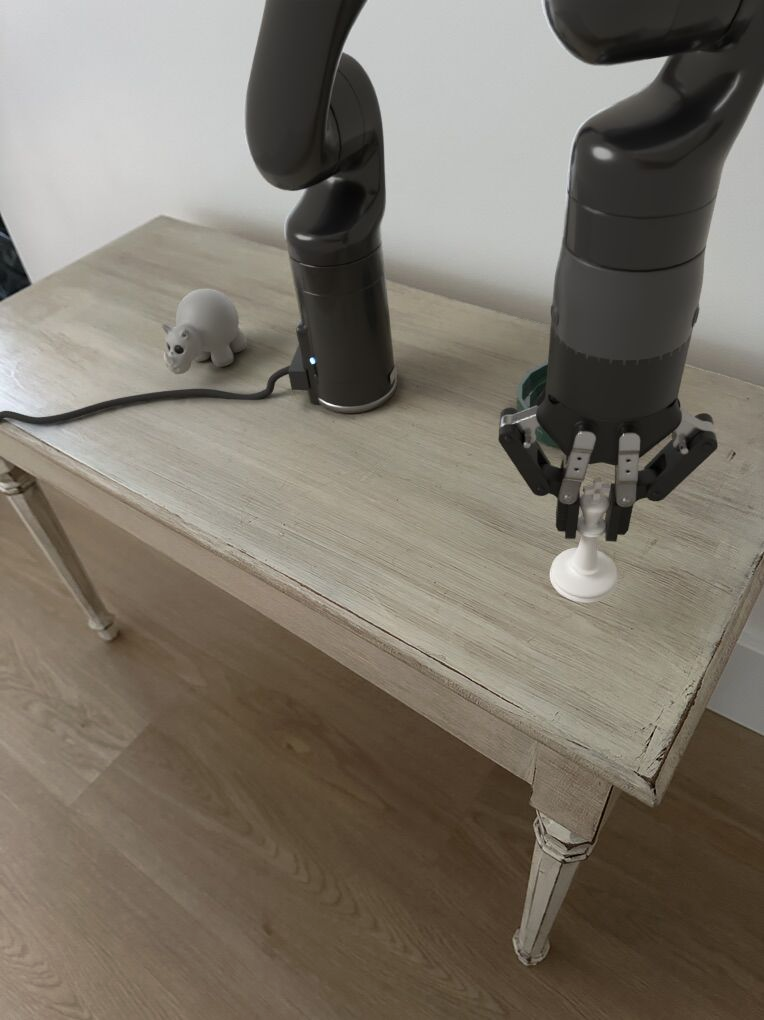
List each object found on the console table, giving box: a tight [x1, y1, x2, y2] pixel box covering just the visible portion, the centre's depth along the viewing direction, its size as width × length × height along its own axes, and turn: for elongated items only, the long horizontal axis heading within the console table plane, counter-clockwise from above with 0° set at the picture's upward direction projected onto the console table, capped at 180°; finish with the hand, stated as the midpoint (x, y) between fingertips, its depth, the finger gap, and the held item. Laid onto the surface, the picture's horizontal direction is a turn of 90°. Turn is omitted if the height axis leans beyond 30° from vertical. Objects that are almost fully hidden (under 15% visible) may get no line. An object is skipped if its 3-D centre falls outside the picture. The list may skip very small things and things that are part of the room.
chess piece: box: [549, 476, 619, 604], centre depth 55 cm, size 5×5×10 cm
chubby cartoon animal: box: [161, 288, 248, 375], centre depth 92 cm, size 7×12×8 cm, turn 153°
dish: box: [516, 361, 559, 448], centre depth 81 cm, size 12×12×3 cm
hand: (589, 530), depth 55 cm, fingers closed on chess piece
